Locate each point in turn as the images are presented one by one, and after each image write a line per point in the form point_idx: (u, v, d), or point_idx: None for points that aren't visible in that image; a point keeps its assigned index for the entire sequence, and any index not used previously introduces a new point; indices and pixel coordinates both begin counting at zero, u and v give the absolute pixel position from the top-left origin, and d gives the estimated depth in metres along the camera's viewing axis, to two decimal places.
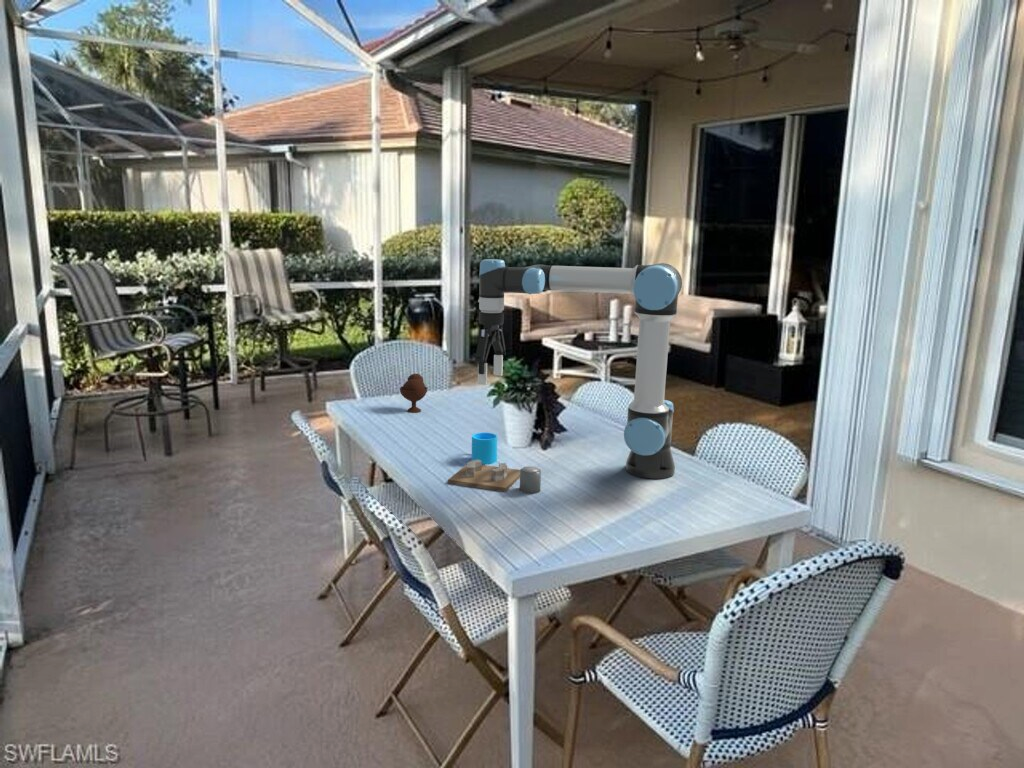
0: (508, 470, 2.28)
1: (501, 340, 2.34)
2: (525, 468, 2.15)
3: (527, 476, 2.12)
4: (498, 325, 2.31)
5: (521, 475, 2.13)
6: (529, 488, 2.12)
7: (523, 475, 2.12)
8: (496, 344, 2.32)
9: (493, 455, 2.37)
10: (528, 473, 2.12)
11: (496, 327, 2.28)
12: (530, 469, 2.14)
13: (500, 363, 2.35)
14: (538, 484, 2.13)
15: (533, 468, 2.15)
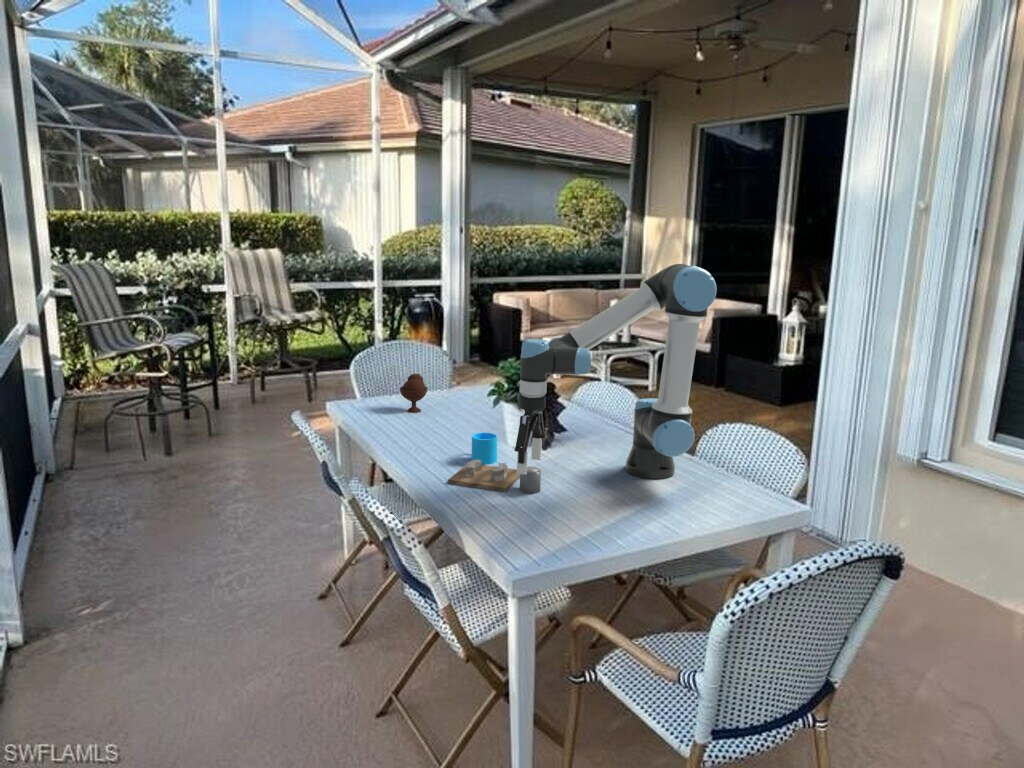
0: (508, 470, 2.28)
1: (540, 422, 2.18)
2: None
3: (527, 476, 2.12)
4: None
5: (521, 475, 2.13)
6: (529, 488, 2.12)
7: (523, 475, 2.12)
8: (536, 428, 2.16)
9: (493, 455, 2.37)
10: (528, 473, 2.12)
11: (537, 411, 2.11)
12: (530, 469, 2.14)
13: (539, 447, 2.19)
14: (538, 484, 2.13)
15: (533, 468, 2.15)
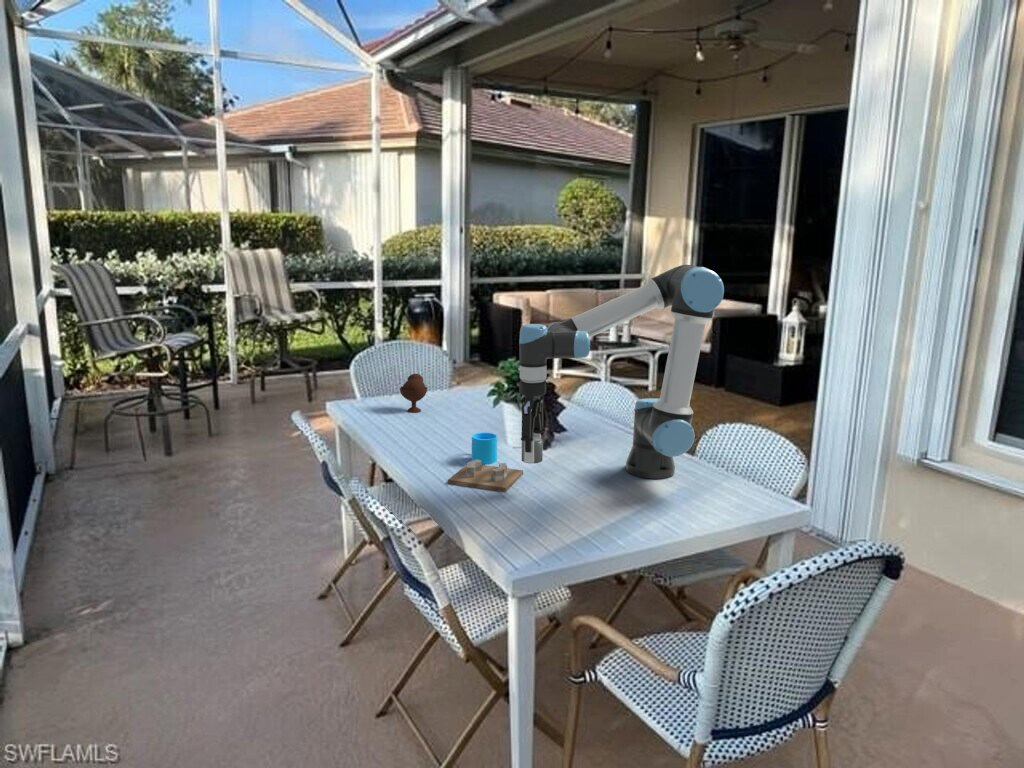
0: (508, 470, 2.28)
1: (540, 414, 2.15)
2: None
3: None
4: (539, 396, 2.14)
5: (523, 444, 2.11)
6: None
7: None
8: (535, 418, 2.13)
9: (493, 455, 2.37)
10: None
11: None
12: None
13: None
14: (540, 453, 2.11)
15: (535, 437, 2.13)
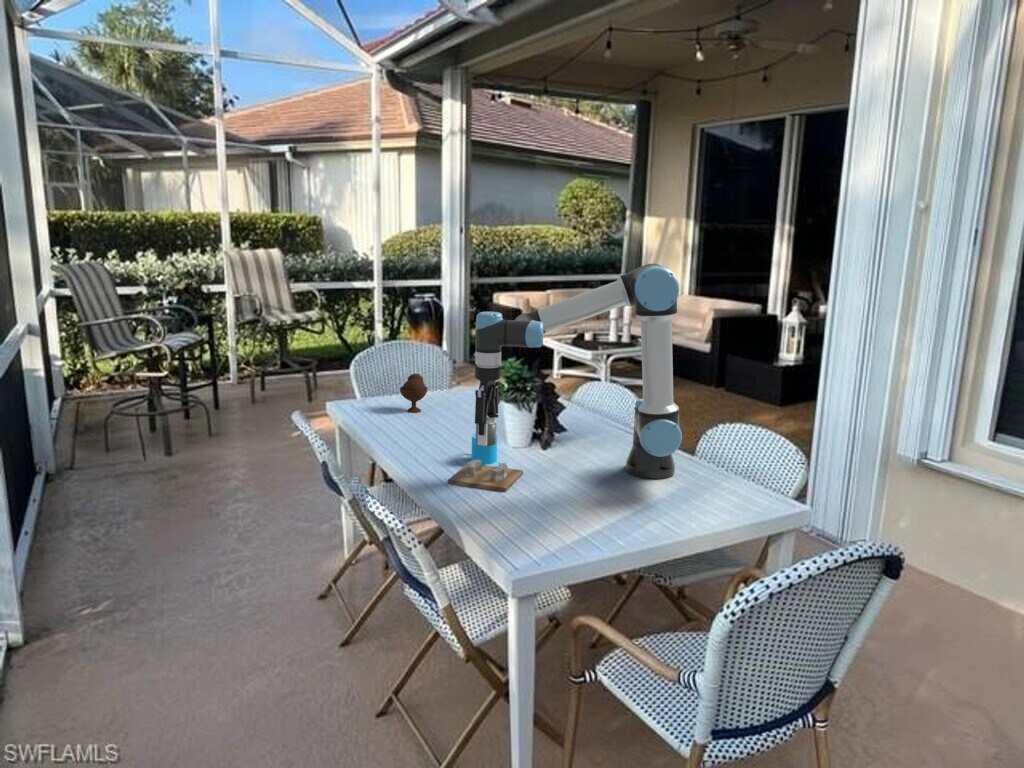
0: (508, 470, 2.28)
1: (495, 399, 2.23)
2: None
3: None
4: (495, 382, 2.22)
5: (477, 427, 2.19)
6: None
7: None
8: (490, 403, 2.21)
9: (493, 455, 2.37)
10: None
11: None
12: (486, 422, 2.20)
13: None
14: (493, 436, 2.19)
15: (489, 421, 2.21)
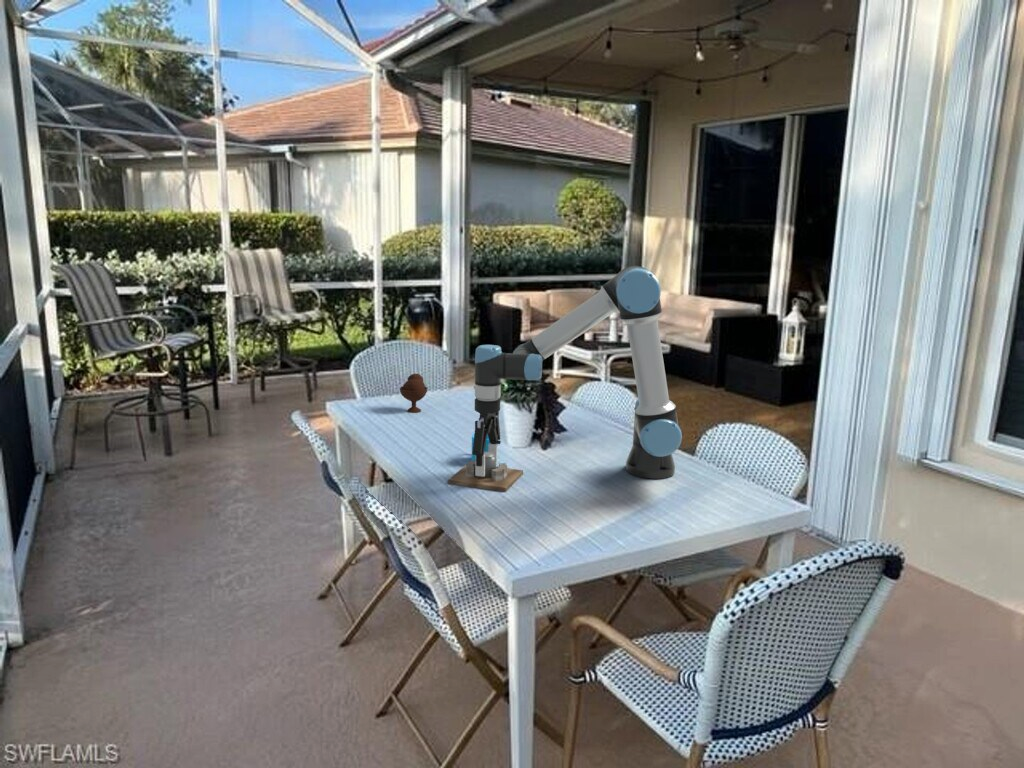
0: (508, 470, 2.28)
1: (496, 427, 2.26)
2: None
3: None
4: None
5: None
6: None
7: None
8: (491, 432, 2.24)
9: None
10: None
11: (492, 413, 2.21)
12: (486, 454, 2.22)
13: (495, 453, 2.27)
14: None
15: (489, 453, 2.23)
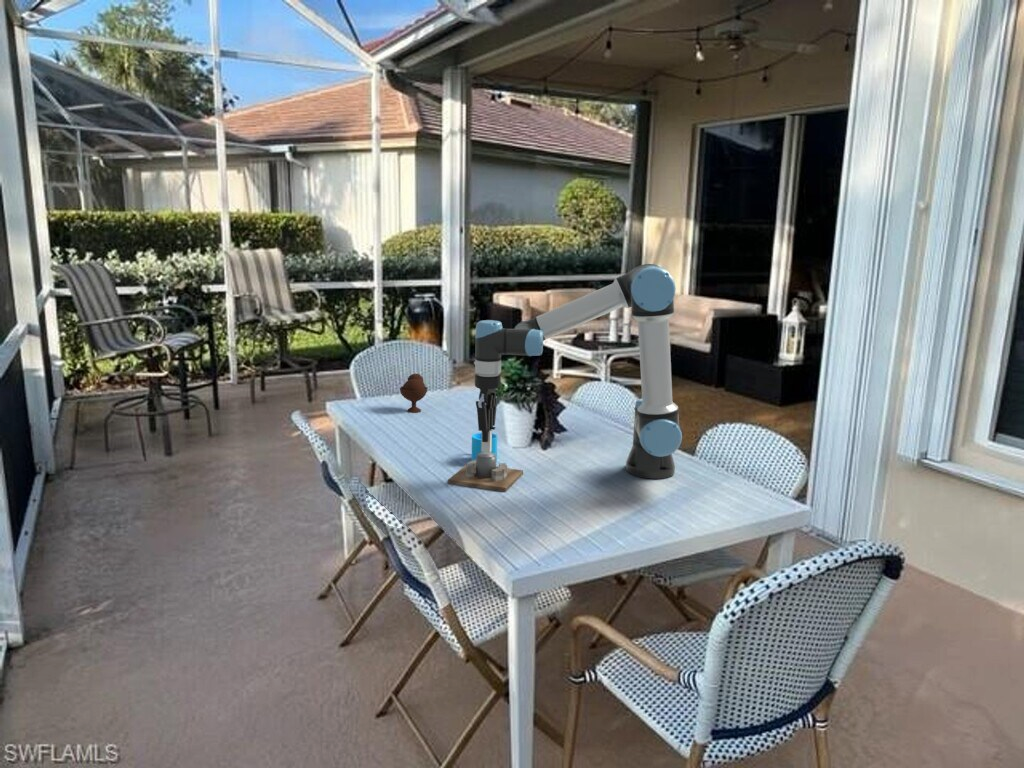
0: (508, 470, 2.28)
1: (493, 410, 2.22)
2: (481, 453, 2.23)
3: (482, 461, 2.20)
4: None
5: (477, 460, 2.21)
6: (484, 472, 2.20)
7: (479, 460, 2.20)
8: None
9: None
10: (483, 458, 2.20)
11: None
12: (486, 454, 2.22)
13: None
14: None
15: (489, 453, 2.23)
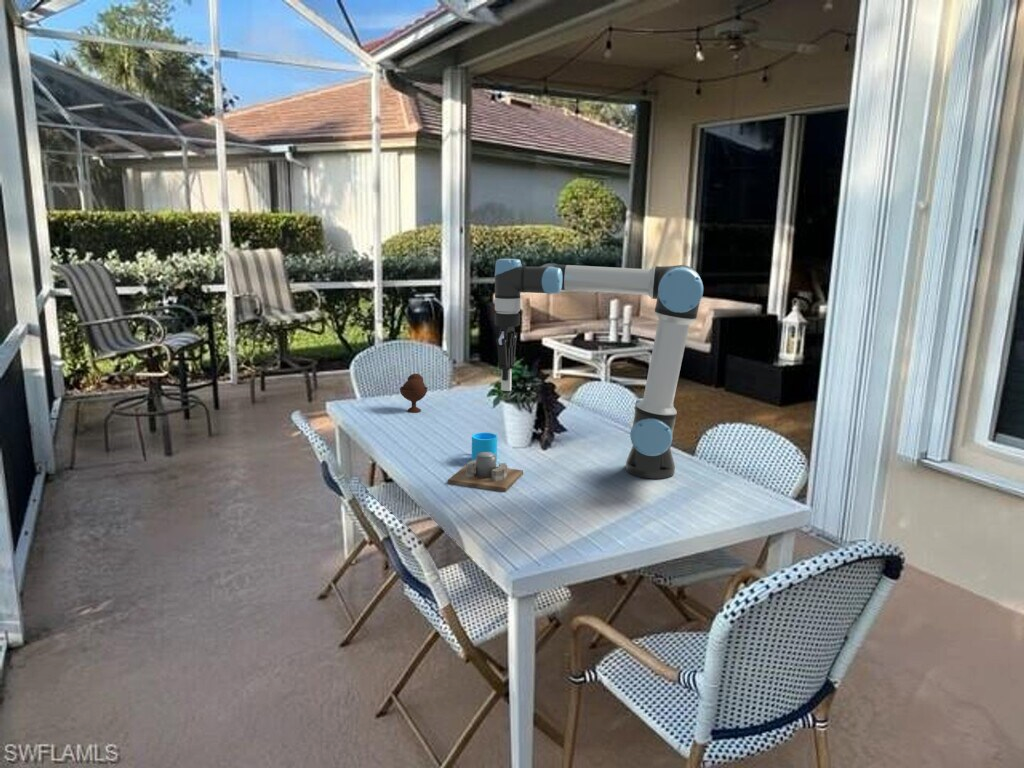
0: (508, 470, 2.28)
1: (513, 349, 2.24)
2: (481, 453, 2.23)
3: (482, 461, 2.20)
4: None
5: (477, 460, 2.21)
6: (484, 472, 2.20)
7: (479, 460, 2.20)
8: None
9: None
10: (483, 458, 2.20)
11: None
12: (486, 454, 2.22)
13: None
14: (493, 468, 2.21)
15: (489, 453, 2.23)
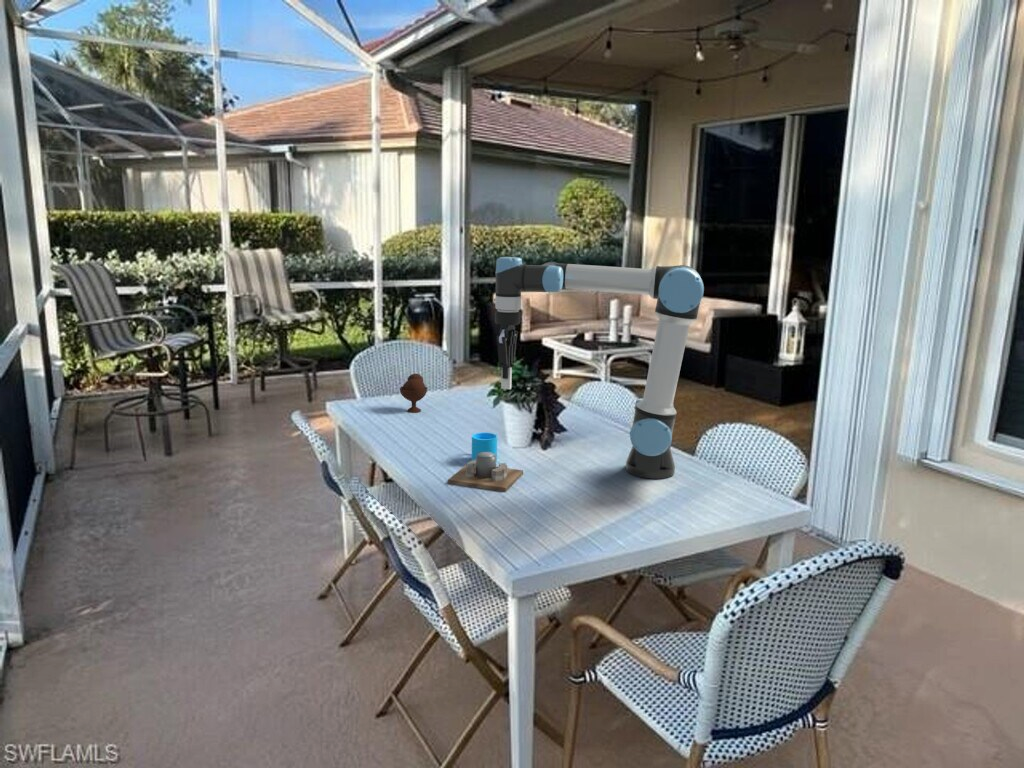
0: (508, 470, 2.28)
1: (513, 347, 2.25)
2: (481, 453, 2.23)
3: (482, 461, 2.20)
4: None
5: (477, 460, 2.21)
6: (484, 472, 2.20)
7: (479, 460, 2.20)
8: None
9: None
10: (483, 458, 2.20)
11: None
12: (486, 454, 2.22)
13: None
14: (493, 468, 2.21)
15: (489, 453, 2.23)
